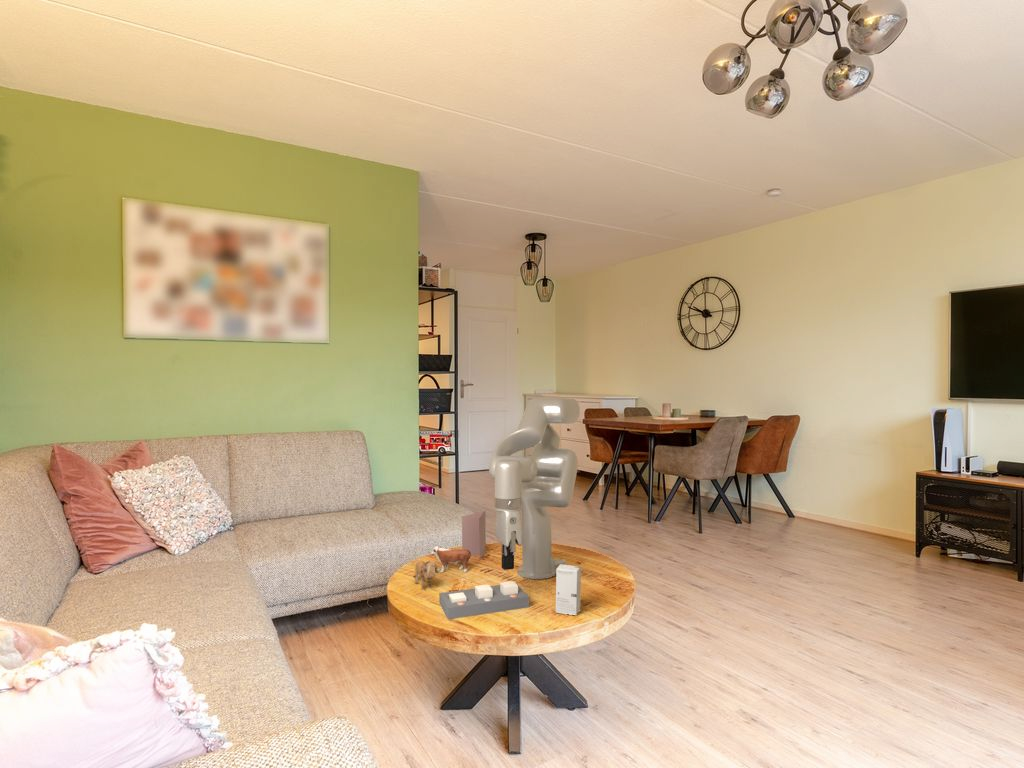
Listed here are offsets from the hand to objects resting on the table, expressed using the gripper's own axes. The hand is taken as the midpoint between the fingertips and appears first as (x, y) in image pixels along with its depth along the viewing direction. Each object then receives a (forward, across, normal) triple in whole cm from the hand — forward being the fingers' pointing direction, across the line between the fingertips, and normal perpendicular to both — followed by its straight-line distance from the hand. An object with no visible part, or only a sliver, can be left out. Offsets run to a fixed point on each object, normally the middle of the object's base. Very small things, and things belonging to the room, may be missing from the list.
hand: (507, 568), depth 160 cm
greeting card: (+9, +43, -4) cm, 44 cm away
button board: (+10, +1, +7) cm, 12 cm away
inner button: (+8, +1, -1) cm, 8 cm away
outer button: (+10, +1, +14) cm, 17 cm away
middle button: (+8, +1, +7) cm, 11 cm away
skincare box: (+10, -11, -14) cm, 20 cm away
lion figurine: (+10, +22, +19) cm, 31 cm away
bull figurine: (+9, +32, +9) cm, 35 cm away
